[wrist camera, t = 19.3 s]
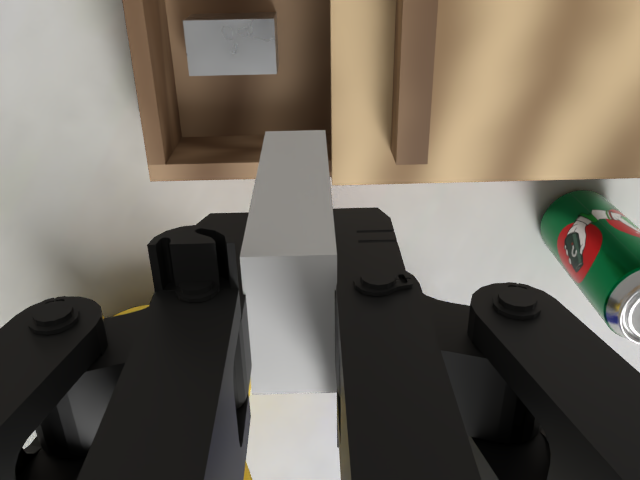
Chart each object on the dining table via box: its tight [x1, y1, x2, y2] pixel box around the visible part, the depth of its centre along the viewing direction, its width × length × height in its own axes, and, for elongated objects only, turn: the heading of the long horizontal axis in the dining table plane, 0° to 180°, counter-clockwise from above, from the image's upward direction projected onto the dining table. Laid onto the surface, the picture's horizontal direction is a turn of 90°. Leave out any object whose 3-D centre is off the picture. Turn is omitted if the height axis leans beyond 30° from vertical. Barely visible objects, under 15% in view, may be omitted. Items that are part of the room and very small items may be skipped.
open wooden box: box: [122, 0, 332, 181], centre depth 35 cm, size 22×14×6 cm, turn 91°
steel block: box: [183, 12, 279, 76], centre depth 35 cm, size 5×3×3 cm, turn 91°
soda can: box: [540, 190, 640, 344], centre depth 38 cm, size 5×5×12 cm
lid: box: [330, 0, 640, 185], centre depth 30 cm, size 22×14×3 cm, turn 91°
